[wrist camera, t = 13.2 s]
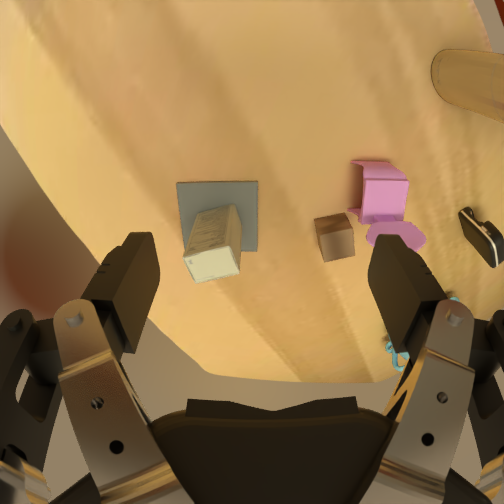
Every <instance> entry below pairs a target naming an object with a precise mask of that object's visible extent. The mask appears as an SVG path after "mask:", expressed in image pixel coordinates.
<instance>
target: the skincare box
mask: <svg viewBox="0 0 504 504" xmlns="http://www.w3.org/2000/svg"><path fill="white" fill-rule="evenodd" d="M241 239H242V224H241V221H240V218H239V215H238V212H237V209H236V206H235V204H230V205H226V206H222V207H218V208H215V209H211V210H207V211H204V212H201V213H198V214H197V216H196V219H195V222H194V225H193V228H192V231H191V234H190V237H189V239H188V242H187V246H186V249H185V252H184V255H183V260H184V263H185V265H186V267H187V269H188V271H189V273H190V275H191V277H192V278H193V280H194V282H195V283H201V282H206V281H211V280H216V279H220V278H224V277H228V276H232V275H236V274H239V273H240V257H241Z"/></svg>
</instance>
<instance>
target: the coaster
mask: <svg viewBox="0 0 504 504" xmlns="http://www.w3.org/2000/svg"><path fill="white" fill-rule="evenodd" d="M176 186H177V195H178V203H179V211H180V219H181V226H182V234H183V241H184V248H185V249H186V246H187V242H188V239H189V237H190V234H191V231H192V228H193V225H194V222H195V219H196V216H197V214H198V213H201V212H204V211H207V210H211V209H215V208H218V207H222V206H226V205H230V204H235V206H236V209H237V212H238V215H239V218H240V221H241V224H242V239H241V251H257V209H258V181H207V182H177V184H176Z"/></svg>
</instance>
